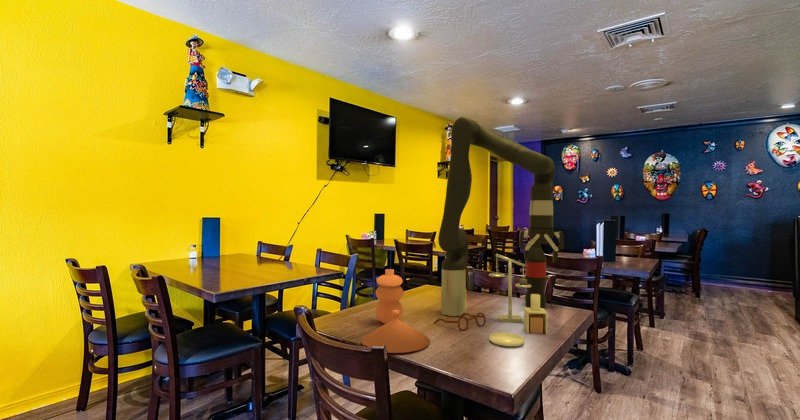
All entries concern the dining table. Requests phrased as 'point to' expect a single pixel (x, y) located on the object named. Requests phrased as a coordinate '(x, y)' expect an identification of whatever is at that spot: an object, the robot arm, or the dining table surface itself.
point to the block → (535, 324)
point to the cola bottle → (536, 274)
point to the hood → (535, 312)
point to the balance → (510, 289)
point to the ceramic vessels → (393, 319)
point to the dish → (506, 339)
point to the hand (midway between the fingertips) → (540, 261)
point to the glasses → (466, 320)
